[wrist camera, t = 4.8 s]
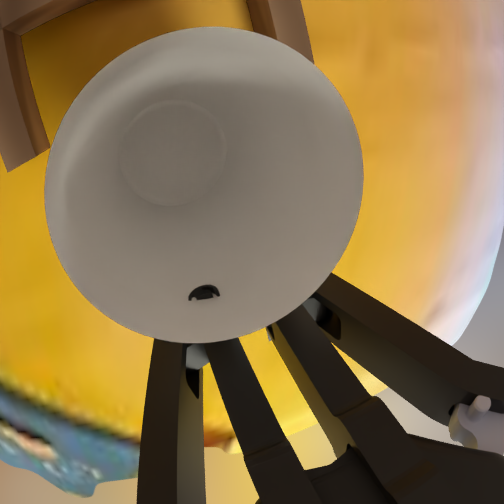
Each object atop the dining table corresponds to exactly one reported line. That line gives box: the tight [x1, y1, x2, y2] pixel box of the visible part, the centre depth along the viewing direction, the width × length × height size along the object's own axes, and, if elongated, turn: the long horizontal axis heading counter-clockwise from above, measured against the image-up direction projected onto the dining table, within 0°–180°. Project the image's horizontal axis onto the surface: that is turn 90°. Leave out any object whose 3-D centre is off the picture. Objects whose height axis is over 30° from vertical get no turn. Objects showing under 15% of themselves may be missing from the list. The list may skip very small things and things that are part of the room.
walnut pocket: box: [0, 0, 314, 172], centre depth 12 cm, size 18×10×3 cm, turn 103°
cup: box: [45, 27, 363, 343], centre depth 13 cm, size 9×9×12 cm
